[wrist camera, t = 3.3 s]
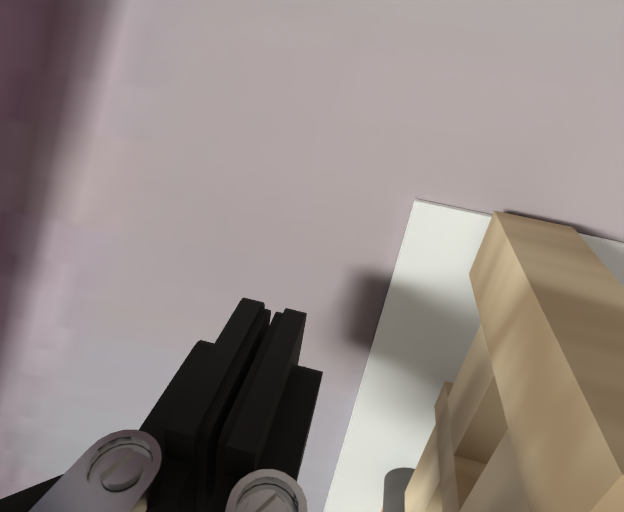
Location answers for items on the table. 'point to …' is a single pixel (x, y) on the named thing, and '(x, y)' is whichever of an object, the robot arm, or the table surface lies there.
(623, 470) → the fence gate
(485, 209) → the table surface
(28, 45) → the table surface
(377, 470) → the card
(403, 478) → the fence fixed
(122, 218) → the table surface
